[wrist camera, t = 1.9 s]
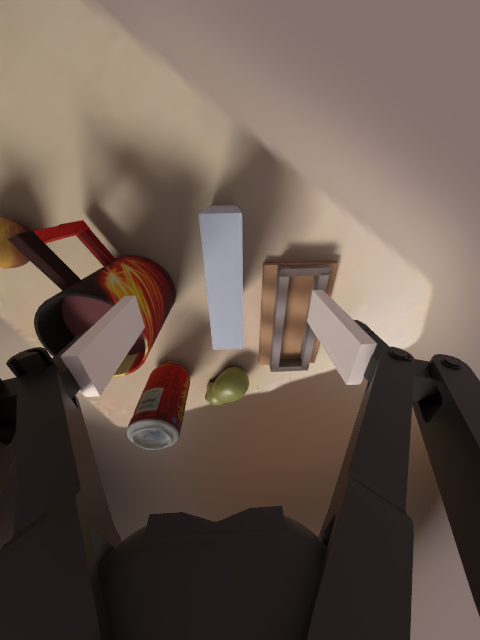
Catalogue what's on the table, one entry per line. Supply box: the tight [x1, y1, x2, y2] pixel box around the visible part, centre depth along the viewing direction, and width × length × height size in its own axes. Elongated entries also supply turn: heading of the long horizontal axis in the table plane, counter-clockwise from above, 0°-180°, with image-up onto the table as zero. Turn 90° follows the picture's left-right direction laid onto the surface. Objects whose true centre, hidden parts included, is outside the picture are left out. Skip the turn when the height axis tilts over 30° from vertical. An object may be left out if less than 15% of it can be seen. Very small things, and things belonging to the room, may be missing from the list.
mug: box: [8, 220, 176, 377], centre depth 23 cm, size 10×14×12 cm
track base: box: [259, 261, 338, 372], centre depth 32 cm, size 18×10×3 cm, turn 1°
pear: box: [205, 367, 249, 405], centre depth 38 cm, size 6×5×10 cm
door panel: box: [198, 205, 243, 350], centre depth 22 cm, size 12×3×12 cm, turn 1°
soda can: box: [127, 361, 190, 450], centre depth 33 cm, size 7×7×12 cm
